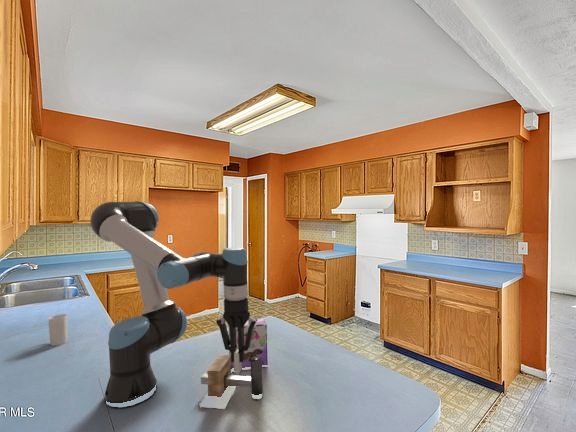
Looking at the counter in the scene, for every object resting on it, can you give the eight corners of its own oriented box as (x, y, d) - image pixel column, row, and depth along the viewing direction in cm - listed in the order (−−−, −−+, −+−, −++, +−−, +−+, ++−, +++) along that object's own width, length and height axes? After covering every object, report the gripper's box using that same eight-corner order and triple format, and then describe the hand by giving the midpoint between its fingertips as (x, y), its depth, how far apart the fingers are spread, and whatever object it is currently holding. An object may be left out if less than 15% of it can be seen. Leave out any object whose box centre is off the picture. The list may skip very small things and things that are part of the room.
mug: (71, 341, 143) (70, 315, 143) (55, 347, 137) (53, 320, 137) (58, 337, 147) (57, 312, 147) (42, 343, 141) (41, 317, 141)
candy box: (230, 373, 112) (229, 328, 112) (229, 365, 118) (227, 322, 118) (268, 367, 116) (267, 323, 116) (265, 360, 122) (263, 318, 121)
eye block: (199, 407, 94) (198, 373, 93) (216, 381, 107) (216, 351, 107) (224, 409, 92) (223, 375, 92) (239, 383, 106) (238, 352, 106)
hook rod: (200, 395, 99) (199, 358, 99) (205, 389, 103) (204, 353, 102) (261, 400, 96) (260, 361, 96) (264, 393, 100) (263, 356, 99)
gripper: (211, 300, 95) (213, 376, 96) (253, 301, 93) (255, 379, 94) (220, 293, 103) (222, 364, 103) (259, 294, 101) (261, 366, 101)
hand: (238, 371), depth 99 cm, fingers closed
